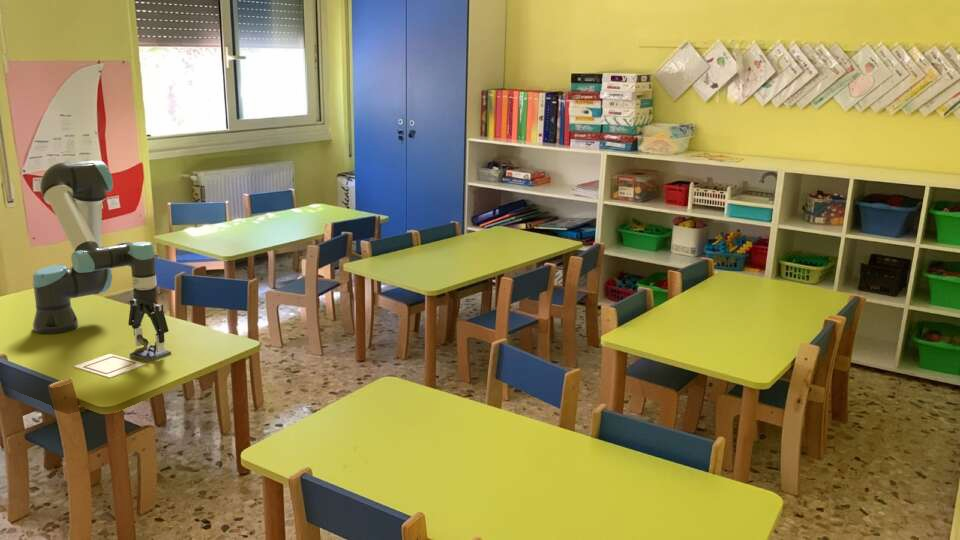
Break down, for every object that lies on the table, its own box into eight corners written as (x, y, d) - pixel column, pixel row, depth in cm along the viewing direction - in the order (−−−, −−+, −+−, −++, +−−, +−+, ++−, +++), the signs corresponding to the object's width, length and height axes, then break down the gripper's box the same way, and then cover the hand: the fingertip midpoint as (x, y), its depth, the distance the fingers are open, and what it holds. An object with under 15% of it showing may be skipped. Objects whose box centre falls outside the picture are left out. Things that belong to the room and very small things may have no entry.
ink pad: (129, 356, 275) (129, 352, 275) (151, 348, 283) (150, 345, 282) (149, 361, 271) (149, 358, 270) (170, 353, 278) (170, 350, 278)
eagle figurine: (163, 346, 279) (138, 340, 279) (160, 334, 273) (134, 328, 273) (153, 363, 273) (128, 357, 274) (150, 351, 268) (124, 346, 268)
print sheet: (73, 367, 264) (73, 365, 264) (110, 354, 276) (110, 353, 276) (110, 378, 256) (109, 376, 256) (145, 364, 268) (145, 363, 268)
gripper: (113, 284, 272) (118, 345, 278) (159, 294, 262) (163, 357, 268) (131, 279, 279) (136, 339, 284) (177, 289, 269) (181, 351, 274)
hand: (149, 348), depth 276 cm, fingers closed on eagle figurine, 10 cm apart
